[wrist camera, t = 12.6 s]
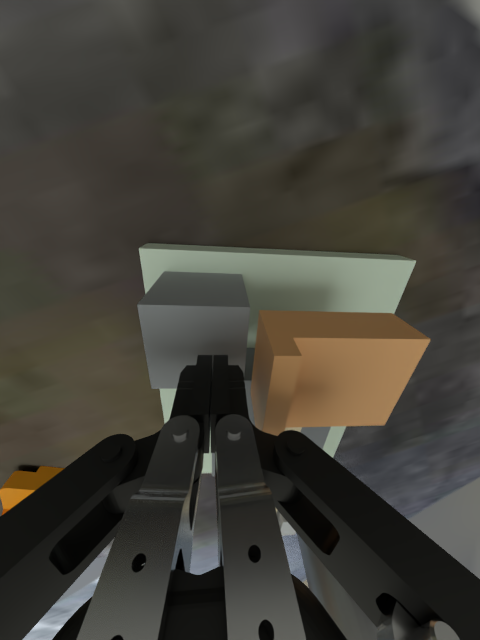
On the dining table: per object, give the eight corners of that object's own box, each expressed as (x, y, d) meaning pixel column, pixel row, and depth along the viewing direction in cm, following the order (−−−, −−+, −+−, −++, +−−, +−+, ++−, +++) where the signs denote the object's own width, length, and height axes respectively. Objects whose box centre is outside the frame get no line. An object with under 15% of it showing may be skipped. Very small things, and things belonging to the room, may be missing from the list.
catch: (359, 390, 14) (399, 446, 11) (250, 391, 14) (259, 451, 10) (391, 313, 12) (456, 356, 8) (259, 310, 11) (274, 356, 8)
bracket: (109, 472, 30) (49, 619, 20) (105, 499, 33) (52, 639, 23) (17, 462, 28) (-108, 623, 17) (22, 492, 31) (-81, 644, 20)
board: (322, 453, 31) (354, 532, 24) (175, 458, 29) (159, 545, 22) (398, 254, 19) (516, 292, 11) (147, 243, 17) (87, 278, 9)
